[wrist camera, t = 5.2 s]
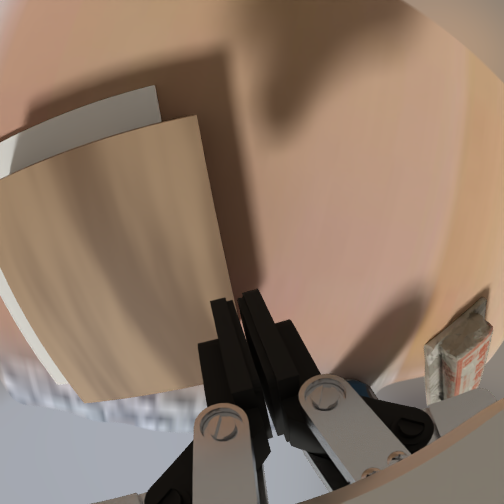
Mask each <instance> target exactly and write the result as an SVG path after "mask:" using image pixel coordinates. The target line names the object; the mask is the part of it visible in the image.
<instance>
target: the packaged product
mask: <svg viewBox="0 0 504 504" xmlns="http://www.w3.org/2000/svg"><path fill="white" fill-rule="evenodd" d="M486 302H487V299H486V298H485V297H482V298H480V299H479V300H478V301H477V302H476V303H475V304H474V305H473V306H471V307H470V308H469V309H468V310H467V311H466V312H465V313H463V314H462V315H461V316H460V317H459V318H458V319H456V320H455V321H454V322H453V323H452V324H451V325H449V326H448V327H447V328H446V329H444V330H443V331H442V332H441V333H439V334H438V335H437V336H436V337H434V338H433V339H432V340H431V341H429V342H428V343H427V344H425V346H424V355H425V376H424V384H425V391H426V401H427V406H428V405H430V404H433V403H436V402H439V401H442V400H445V399H448V398H451V397H454V396H457V395H459V394H462V393H465V392H468V391H470V390H473V389H477V388H478V386H479V384H480V382H481V379H482V374H483V370H484V367H485V363H486V359H487V355H488V351H489V346H490V342H491V337H492V333H493V326H492V325H491V324H490V323H489V322H487V321H486V320H484V319H485V311H486Z"/></svg>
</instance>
